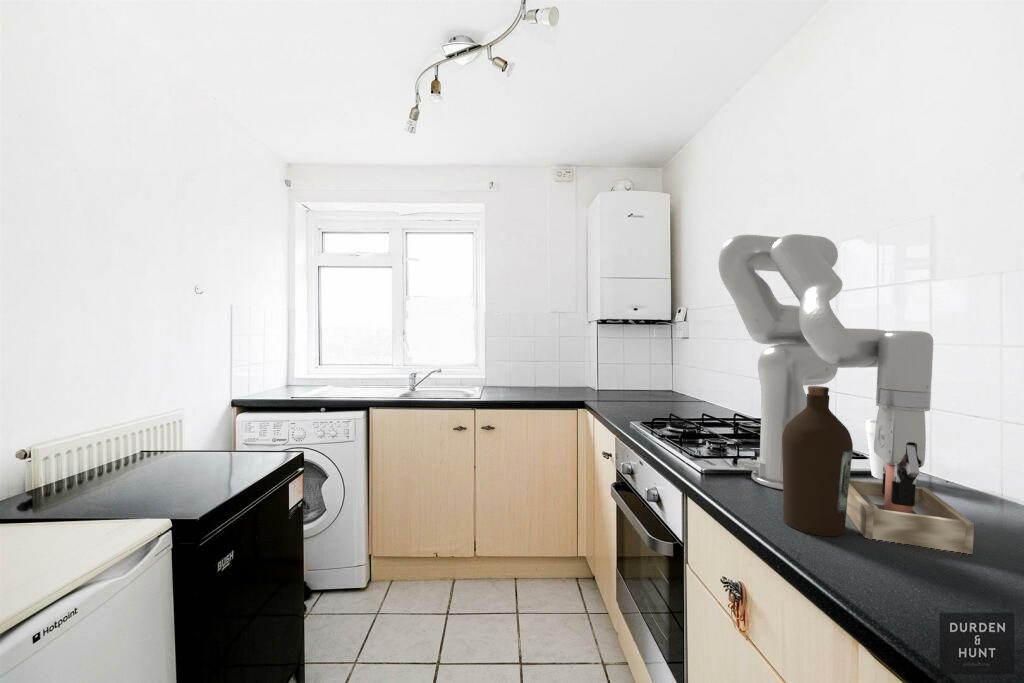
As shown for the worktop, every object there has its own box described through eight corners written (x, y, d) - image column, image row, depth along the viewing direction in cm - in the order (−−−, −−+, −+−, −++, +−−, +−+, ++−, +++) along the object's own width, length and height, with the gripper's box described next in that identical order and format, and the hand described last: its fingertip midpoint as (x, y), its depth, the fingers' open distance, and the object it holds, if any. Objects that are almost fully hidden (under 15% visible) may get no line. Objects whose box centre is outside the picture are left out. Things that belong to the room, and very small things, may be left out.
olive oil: (775, 527, 84) (780, 387, 83) (782, 509, 93) (787, 381, 92) (849, 544, 78) (855, 393, 77) (849, 523, 87) (855, 386, 86)
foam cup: (910, 476, 115) (913, 422, 114) (917, 487, 107) (920, 429, 106) (862, 469, 120) (864, 418, 119) (865, 479, 112) (867, 424, 111)
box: (865, 538, 80) (866, 509, 80) (838, 502, 97) (839, 477, 97) (972, 555, 75) (974, 523, 75) (925, 513, 92) (926, 487, 91)
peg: (888, 519, 85) (891, 453, 84) (880, 511, 89) (883, 447, 88) (916, 523, 83) (919, 456, 83) (907, 515, 87) (910, 450, 86)
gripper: (863, 392, 94) (859, 483, 95) (893, 405, 79) (888, 513, 80) (910, 394, 91) (905, 488, 92) (951, 408, 76) (945, 521, 77)
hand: (897, 499), depth 86 cm, fingers closed on peg, 4 cm apart
